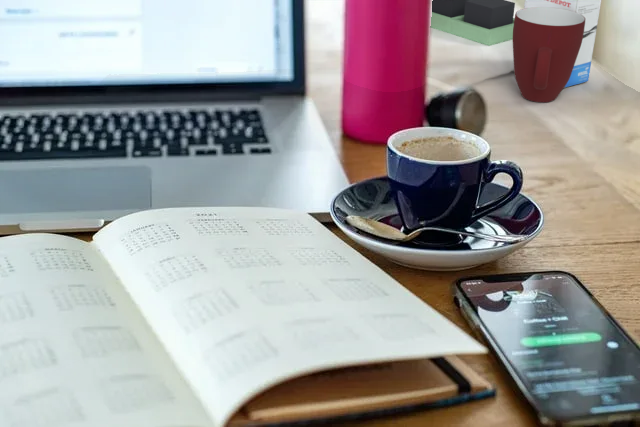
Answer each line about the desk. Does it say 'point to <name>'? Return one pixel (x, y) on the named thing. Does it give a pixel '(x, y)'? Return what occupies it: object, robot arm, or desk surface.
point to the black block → (449, 7)
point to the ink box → (588, 5)
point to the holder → (472, 30)
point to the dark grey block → (489, 13)
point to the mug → (545, 50)
